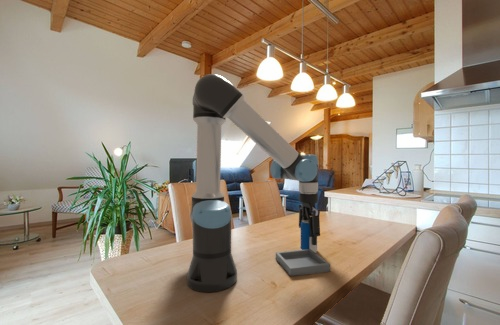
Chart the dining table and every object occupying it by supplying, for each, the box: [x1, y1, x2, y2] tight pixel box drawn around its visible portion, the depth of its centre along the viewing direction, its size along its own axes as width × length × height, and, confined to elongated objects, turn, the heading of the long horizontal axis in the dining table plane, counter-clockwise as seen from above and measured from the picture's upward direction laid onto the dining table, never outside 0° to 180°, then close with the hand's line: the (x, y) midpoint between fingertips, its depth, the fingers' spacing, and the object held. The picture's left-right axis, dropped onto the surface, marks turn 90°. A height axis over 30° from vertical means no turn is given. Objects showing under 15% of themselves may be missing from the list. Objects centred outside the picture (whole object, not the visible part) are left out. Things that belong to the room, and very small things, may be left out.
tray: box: [275, 249, 331, 277], centre depth 84 cm, size 14×14×2 cm
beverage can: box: [300, 220, 311, 250], centre depth 97 cm, size 6×6×12 cm
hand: (308, 249), depth 97 cm, fingers closed on beverage can, 6 cm apart
